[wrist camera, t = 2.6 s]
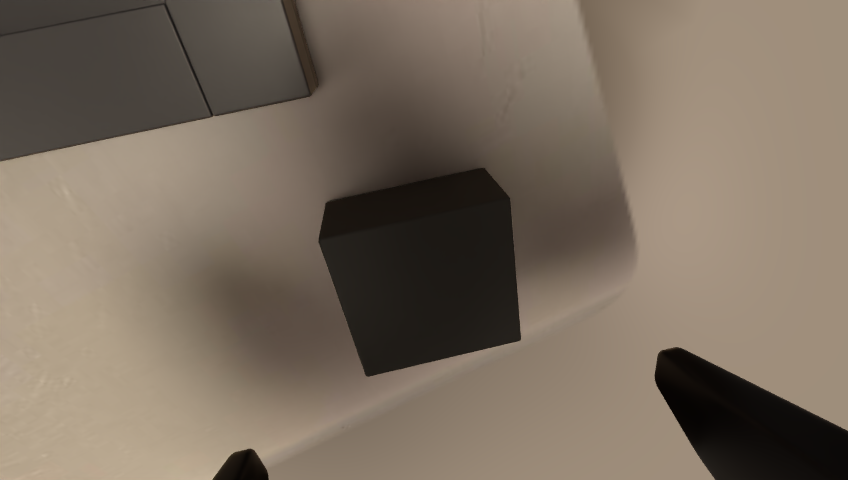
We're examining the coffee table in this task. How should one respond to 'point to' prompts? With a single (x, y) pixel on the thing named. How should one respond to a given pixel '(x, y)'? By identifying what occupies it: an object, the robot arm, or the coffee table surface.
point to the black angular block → (424, 269)
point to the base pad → (141, 66)
